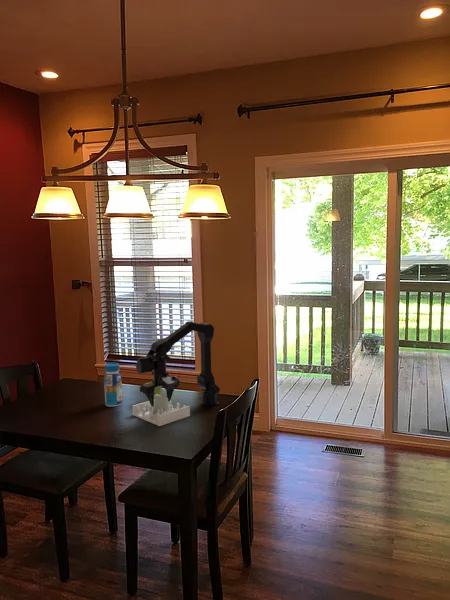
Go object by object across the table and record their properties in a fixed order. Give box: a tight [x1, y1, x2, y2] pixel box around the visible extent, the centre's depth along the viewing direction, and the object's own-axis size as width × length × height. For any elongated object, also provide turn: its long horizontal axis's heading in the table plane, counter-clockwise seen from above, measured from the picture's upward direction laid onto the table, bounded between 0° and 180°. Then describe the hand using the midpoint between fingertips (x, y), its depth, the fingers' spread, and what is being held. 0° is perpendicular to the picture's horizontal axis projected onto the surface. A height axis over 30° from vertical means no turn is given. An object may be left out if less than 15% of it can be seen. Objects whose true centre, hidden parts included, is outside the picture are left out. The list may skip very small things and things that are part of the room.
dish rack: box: [132, 399, 191, 427], centre depth 216 cm, size 17×20×4 cm
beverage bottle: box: [103, 362, 123, 408], centre depth 232 cm, size 8×8×20 cm
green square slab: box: [154, 394, 169, 414], centre depth 215 cm, size 2×8×8 cm, turn 45°
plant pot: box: [145, 381, 163, 401], centre depth 236 cm, size 9×9×9 cm
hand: (160, 403), depth 215 cm, fingers open, 9 cm apart
